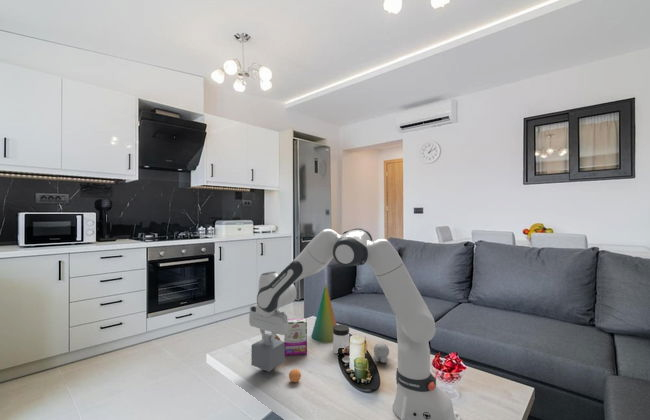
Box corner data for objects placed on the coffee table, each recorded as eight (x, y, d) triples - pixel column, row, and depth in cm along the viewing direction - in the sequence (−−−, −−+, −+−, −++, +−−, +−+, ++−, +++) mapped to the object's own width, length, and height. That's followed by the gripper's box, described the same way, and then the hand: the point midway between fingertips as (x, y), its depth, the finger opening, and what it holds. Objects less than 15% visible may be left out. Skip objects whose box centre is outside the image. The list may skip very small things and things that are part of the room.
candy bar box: (306, 350, 155) (306, 318, 155) (307, 354, 150) (307, 321, 150) (284, 351, 153) (284, 318, 153) (284, 356, 148) (284, 322, 148)
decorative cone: (324, 345, 160) (324, 288, 160) (305, 335, 172) (305, 282, 172) (345, 336, 171) (346, 283, 171) (326, 328, 183) (326, 278, 183)
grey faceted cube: (284, 361, 136) (284, 332, 136) (268, 371, 127) (269, 341, 127) (267, 355, 141) (267, 328, 141) (251, 365, 133) (251, 335, 133)
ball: (303, 380, 128) (303, 368, 128) (295, 386, 123) (296, 374, 123) (293, 377, 130) (293, 365, 130) (286, 382, 126) (286, 370, 126)
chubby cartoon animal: (391, 363, 148) (393, 344, 150) (385, 364, 137) (388, 344, 140) (376, 359, 151) (379, 341, 153) (370, 360, 141) (372, 340, 143)
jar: (338, 356, 148) (338, 332, 148) (329, 350, 155) (329, 326, 155) (352, 352, 153) (353, 328, 153) (343, 345, 160) (343, 323, 160)
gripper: (291, 310, 131) (291, 342, 132) (257, 302, 142) (256, 332, 142) (282, 315, 126) (281, 348, 126) (246, 306, 137) (246, 337, 137)
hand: (268, 339), depth 134 cm, fingers closed on grey faceted cube, 3 cm apart
